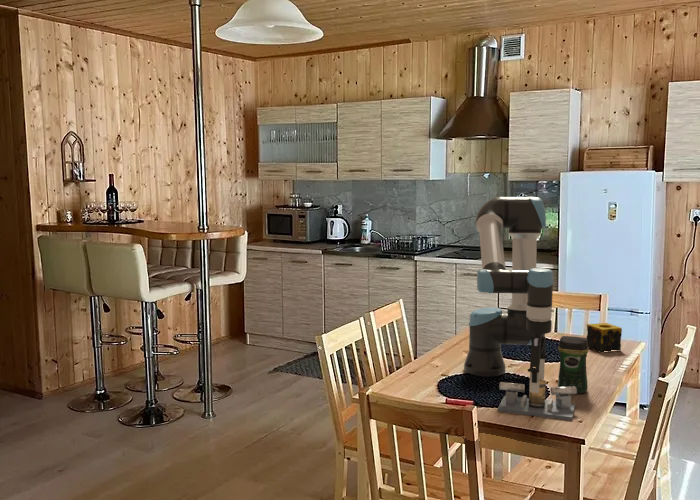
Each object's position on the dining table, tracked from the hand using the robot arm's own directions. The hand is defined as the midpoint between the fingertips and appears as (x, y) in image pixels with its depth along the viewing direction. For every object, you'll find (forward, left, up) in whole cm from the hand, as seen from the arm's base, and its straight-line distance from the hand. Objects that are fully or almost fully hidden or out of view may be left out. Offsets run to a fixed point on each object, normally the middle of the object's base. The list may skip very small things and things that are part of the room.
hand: (537, 385), depth 214 cm
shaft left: (-8, 0, -7) cm, 11 cm away
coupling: (0, 0, -6) cm, 6 cm away
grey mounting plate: (0, 0, -7) cm, 7 cm away
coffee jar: (+9, +23, -8) cm, 25 cm away
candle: (+17, +84, -8) cm, 86 cm away
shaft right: (+8, +1, -7) cm, 11 cm away
